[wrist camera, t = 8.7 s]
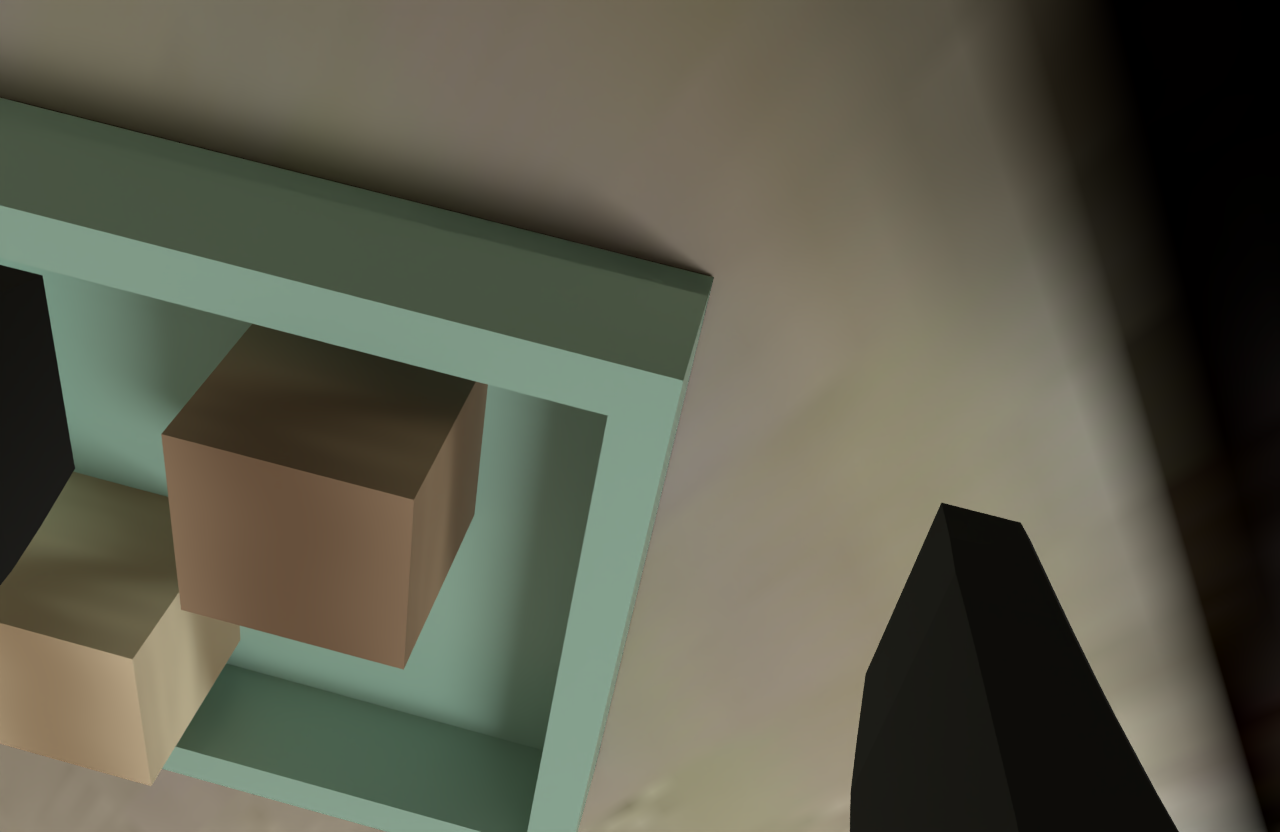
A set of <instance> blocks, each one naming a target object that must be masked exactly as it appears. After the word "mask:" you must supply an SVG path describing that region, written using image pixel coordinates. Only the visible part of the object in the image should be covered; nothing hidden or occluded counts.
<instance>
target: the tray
mask: <svg viewBox="0 0 1280 832" xmlns="http://www.w3.org/2000/svg"><path fill="white" fill-rule="evenodd" d="M0 265H3V266H7V267H11V268H15V269H19V270H23V271H27V272H31V273H35V274H39V275H43V281H44V287H45V293H46V299H47V304H48V310H49V316H50V322H51V328H52V334H53V340H54V346H55V352H56V358H57V364H58V370H59V376H60V382H61V388H62V394H63V400H64V405H65V411H66V417H67V423H68V429H69V435H70V441H71V447H72V453H73V459H74V465H75V470H74V471H73V472H77V473H80V474H84V475H88V476H92V477H95V478H99V479H103V480H107V481H110V482H114V483H118V484H122V485H125V486H129V487H133V488H136V489H140V490H144V491H148V492H151V493H155V494H159V495H163V496H166V497H168V490H167V481H166V472H165V463H164V454H163V445H162V437H161V434H162V432H163V431H164V430H165V429H166V428H167V426H168V425H169V424H170V423H171V422H172V420H173V419H174V418H175V417H176V416H177V414H178V413H179V412H180V411H181V409H182V408H183V407H184V406H185V405H186V403H187V402H188V401H189V400H190V399H191V397H192V396H193V395H194V394H195V392H196V391H197V390H198V389H199V388H200V386H201V385H202V384H203V383H204V382H205V380H206V379H207V378H208V377H209V375H210V374H211V373H212V372H213V371H214V369H215V368H216V367H217V366H218V365H219V363H220V362H221V361H222V360H223V359H224V357H225V356H226V355H227V354H228V352H229V351H230V350H231V349H232V348H233V346H234V345H235V344H236V343H237V342H238V340H239V339H240V338H241V337H242V335H243V334H244V333H245V332H246V331H247V329H248V328H249V327H250V326H251V325H252V324H256V325H260V326H264V327H268V328H271V329H275V330H279V331H283V332H287V333H291V334H295V335H298V336H302V337H306V338H310V339H314V340H318V341H322V342H326V343H329V344H333V345H337V346H341V347H345V348H349V349H353V350H356V351H360V352H364V353H368V354H372V355H376V356H380V357H383V358H387V359H391V360H395V361H399V362H403V363H407V364H410V365H414V366H418V367H422V368H426V369H430V370H434V371H437V372H441V373H445V374H449V375H453V376H457V377H461V378H464V379H468V380H472V381H476V382H480V383H484V384H488V389H487V399H486V409H485V418H484V428H483V437H482V447H481V457H480V466H479V476H478V485H477V495H476V505H475V514H474V517H473V519H472V521H471V524H470V526H469V528H468V530H467V532H466V534H465V537H464V539H463V541H462V543H461V545H460V548H459V550H458V552H457V554H456V556H455V559H454V561H453V563H452V565H451V567H450V569H449V572H448V574H447V576H446V578H445V580H444V583H443V585H442V587H441V589H440V591H439V594H438V596H437V598H436V600H435V602H434V604H433V607H432V609H431V611H430V613H429V615H428V618H427V620H426V622H425V624H424V626H423V628H422V631H421V633H420V635H419V637H418V639H417V642H416V644H415V646H414V648H413V650H412V653H411V655H410V657H409V659H408V661H407V663H406V666H405V668H404V670H403V669H399V668H396V667H392V666H388V665H384V664H381V663H377V662H373V661H370V660H366V659H362V658H358V657H355V656H351V655H347V654H344V653H340V652H336V651H332V650H329V649H325V648H321V647H318V646H314V645H310V644H306V643H303V642H299V641H295V640H291V639H288V638H284V637H280V636H277V635H273V634H269V633H265V632H262V631H258V630H254V629H251V628H247V627H243V626H240V642H239V643H238V645H237V646H236V648H235V650H234V651H233V653H232V655H231V656H230V658H229V660H228V661H227V663H226V664H225V666H224V668H223V669H222V671H221V673H220V674H219V676H218V678H217V679H216V681H215V683H214V684H213V686H212V687H211V689H210V691H209V692H208V694H207V696H206V697H205V699H204V701H203V702H202V704H201V705H200V707H199V709H198V710H197V712H196V714H195V715H194V717H193V719H192V720H191V722H190V723H189V725H188V727H187V728H186V730H185V732H184V733H183V735H182V737H181V738H180V740H179V742H178V743H177V745H176V746H175V748H174V750H173V751H172V753H171V755H170V756H169V758H168V760H167V761H166V763H165V764H164V766H163V768H162V769H165V770H169V771H172V772H176V773H179V774H183V775H187V776H190V777H194V778H197V779H201V780H204V781H208V782H212V783H215V784H219V785H222V786H226V787H229V788H233V789H237V790H240V791H244V792H247V793H251V794H254V795H258V796H262V797H265V798H269V799H272V800H276V801H279V802H283V803H287V804H290V805H294V806H297V807H301V808H304V809H308V810H312V811H315V812H319V813H322V814H326V815H329V816H333V817H337V818H340V819H344V820H347V821H351V822H354V823H358V824H362V825H365V826H369V827H372V828H376V829H379V830H383V831H387V832H578V828H579V825H580V821H581V817H582V814H583V810H584V806H585V803H586V799H587V795H588V792H589V788H590V785H591V781H592V777H593V774H594V770H595V766H596V762H597V758H598V754H599V749H600V745H601V741H602V737H603V733H604V729H605V725H606V720H607V716H608V712H609V708H610V704H611V700H612V696H613V692H614V687H615V683H616V679H617V675H618V671H619V667H620V663H621V658H622V654H623V650H624V646H625V642H626V638H627V634H628V630H629V625H630V621H631V617H632V613H633V609H634V605H635V601H636V596H637V592H638V588H639V584H640V580H641V576H642V572H643V568H644V563H645V559H646V555H647V551H648V547H649V543H650V539H651V534H652V530H653V526H654V522H655V518H656V514H657V510H658V506H659V501H660V497H661V493H662V489H663V485H664V481H665V477H666V472H667V468H668V464H669V460H670V456H671V452H672V448H673V444H674V439H675V435H676V431H677V427H678V423H679V419H680V415H681V410H682V406H683V402H684V398H685V394H686V390H687V386H688V382H689V377H690V373H691V369H692V365H693V361H694V357H695V353H696V348H697V344H698V340H699V336H700V332H701V328H702V324H703V320H704V315H705V311H706V307H707V303H708V299H709V295H710V291H711V286H712V282H713V278H714V277H710V276H706V275H702V274H698V273H694V272H690V271H686V270H682V269H678V268H674V267H670V266H666V265H662V264H658V263H654V262H651V261H647V260H643V259H639V258H635V257H631V256H627V255H623V254H619V253H615V252H611V251H607V250H603V249H599V248H595V247H591V246H587V245H583V244H579V243H575V242H571V241H567V240H563V239H559V238H555V237H551V236H547V235H543V234H539V233H535V232H531V231H527V230H523V229H520V228H516V227H512V226H508V225H504V224H500V223H496V222H492V221H488V220H484V219H480V218H476V217H472V216H468V215H464V214H460V213H456V212H452V211H448V210H444V209H440V208H436V207H432V206H428V205H424V204H420V203H416V202H412V201H408V200H404V199H400V198H396V197H392V196H389V195H385V194H381V193H377V192H373V191H369V190H365V189H361V188H357V187H353V186H349V185H345V184H341V183H337V182H333V181H329V180H325V179H321V178H317V177H313V176H309V175H305V174H301V173H297V172H293V171H289V170H285V169H281V168H277V167H273V166H269V165H265V164H261V163H258V162H254V161H250V160H246V159H242V158H238V157H234V156H230V155H226V154H222V153H218V152H214V151H210V150H206V149H202V148H198V147H194V146H190V145H186V144H182V143H178V142H174V141H170V140H166V139H162V138H158V137H154V136H150V135H146V134H142V133H138V132H134V131H130V130H127V129H123V128H119V127H115V126H111V125H107V124H103V123H99V122H95V121H91V120H87V119H83V118H79V117H75V116H71V115H67V114H63V113H59V112H55V111H51V110H47V109H43V108H39V107H35V106H31V105H27V104H23V103H19V102H15V101H11V100H7V99H3V98H0Z"/></svg>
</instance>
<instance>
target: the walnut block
mask: <svg viewBox="0 0 1280 832" xmlns="http://www.w3.org/2000/svg"><path fill="white" fill-rule="evenodd" d="M487 389H488V384H484V383H480V382H476V381H472V380H468V379H464V378H461V377H457V376H453V375H449V374H445V373H441V372H437V371H434V370H430V369H426V368H422V367H418V366H414V365H410V364H407V363H403V362H399V361H395V360H391V359H387V358H383V357H380V356H376V355H372V354H368V353H364V352H360V351H356V350H353V349H349V348H345V347H341V346H337V345H333V344H329V343H326V342H322V341H318V340H314V339H310V338H306V337H302V336H298V335H295V334H291V333H287V332H283V331H279V330H275V329H271V328H268V327H264V326H260V325H256V324H252V325H251V326H250V327H249V328H248V329H247V331H246V332H245V333H244V334H243V335H242V337H241V338H240V339H239V340H238V342H237V343H236V344H235V345H234V346H233V348H232V349H231V350H230V351H229V352H228V354H227V355H226V356H225V357H224V359H223V360H222V361H221V362H220V363H219V365H218V366H217V367H216V368H215V369H214V371H213V372H212V373H211V374H210V375H209V377H208V378H207V379H206V380H205V382H204V383H203V384H202V385H201V386H200V388H199V389H198V390H197V391H196V392H195V394H194V395H193V396H192V397H191V399H190V400H189V401H188V402H187V403H186V405H185V406H184V407H183V408H182V409H181V411H180V412H179V413H178V414H177V416H176V417H175V418H174V419H173V420H172V422H171V423H170V424H169V425H168V426H167V428H166V429H165V430H164V431H163V432H162V434H161V437H162V445H163V454H164V463H165V472H166V481H167V490H168V499H169V507H170V516H171V525H172V534H173V543H174V552H175V561H176V569H177V578H178V587H179V596H180V605H181V610H184V611H187V612H191V613H195V614H199V615H202V616H206V617H210V618H213V619H217V620H221V621H225V622H228V623H232V624H236V625H239V626H243V627H247V628H251V629H254V630H258V631H262V632H265V633H269V634H273V635H277V636H280V637H284V638H288V639H291V640H295V641H299V642H303V643H306V644H310V645H314V646H318V647H321V648H325V649H329V650H332V651H336V652H340V653H344V654H347V655H351V656H355V657H358V658H362V659H366V660H370V661H373V662H377V663H381V664H384V665H388V666H392V667H396V668H399V669H403V670H404V668H405V666H406V663H407V661H408V659H409V657H410V655H411V653H412V650H413V648H414V646H415V644H416V642H417V639H418V637H419V635H420V633H421V631H422V628H423V626H424V624H425V622H426V620H427V618H428V615H429V613H430V611H431V609H432V607H433V604H434V602H435V600H436V598H437V596H438V594H439V591H440V589H441V587H442V585H443V583H444V580H445V578H446V576H447V574H448V572H449V569H450V567H451V565H452V563H453V561H454V559H455V556H456V554H457V552H458V550H459V548H460V545H461V543H462V541H463V539H464V537H465V534H466V532H467V530H468V528H469V526H470V524H471V521H472V519H473V517H474V514H475V505H476V495H477V485H478V476H479V466H480V457H481V447H482V437H483V428H484V418H485V409H486V399H487Z"/></svg>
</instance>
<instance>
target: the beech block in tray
mask: <svg viewBox="0 0 1280 832" xmlns="http://www.w3.org/2000/svg"><path fill="white" fill-rule="evenodd" d="M239 642H240V626H239V625H236V624H232V623H228V622H225V621H221V620H217V619H213V618H210V617H206V616H202V615H199V614H195V613H191V612H187V611H184V610H181V605H180V596H179V587H178V578H177V569H176V561H175V552H174V543H173V534H172V525H171V516H170V507H169V499H168V497H166V496H163V495H159V494H155V493H151V492H148V491H144V490H140V489H136V488H133V487H129V486H125V485H122V484H118V483H114V482H110V481H107V480H103V479H99V478H95V477H92V476H88V475H84V474H80V473H77V472H73V473H72V475H71V476H70V478H69V480H68V481H67V483H66V485H65V486H64V488H63V490H62V492H61V493H60V495H59V497H58V498H57V500H56V502H55V503H54V505H53V507H52V508H51V510H50V512H49V513H48V515H47V517H46V518H45V520H44V522H43V524H42V525H41V527H40V528H39V530H38V531H37V533H36V534H35V536H34V538H33V539H32V541H31V542H30V544H29V545H28V547H27V548H26V550H25V551H24V553H23V555H22V556H21V558H20V559H19V561H18V562H17V564H16V565H15V567H14V568H13V570H12V571H11V573H10V574H9V575H8V576H7V578H6V579H5V580H4V581H3V583H2V584H1V585H0V744H3V745H7V746H10V747H14V748H18V749H21V750H25V751H28V752H32V753H35V754H39V755H42V756H46V757H50V758H53V759H57V760H60V761H64V762H67V763H71V764H75V765H78V766H82V767H85V768H89V769H92V770H96V771H99V772H103V773H107V774H110V775H114V776H117V777H121V778H124V779H128V780H131V781H135V782H139V783H142V784H146V785H149V786H152V784H153V783H154V781H155V779H156V778H157V776H158V774H159V773H160V771H161V769H162V768H163V766H164V764H165V763H166V761H167V760H168V758H169V756H170V755H171V753H172V751H173V750H174V748H175V746H176V745H177V743H178V742H179V740H180V738H181V737H182V735H183V733H184V732H185V730H186V728H187V727H188V725H189V723H190V722H191V720H192V719H193V717H194V715H195V714H196V712H197V710H198V709H199V707H200V705H201V704H202V702H203V701H204V699H205V697H206V696H207V694H208V692H209V691H210V689H211V687H212V686H213V684H214V683H215V681H216V679H217V678H218V676H219V674H220V673H221V671H222V669H223V668H224V666H225V664H226V663H227V661H228V660H229V658H230V656H231V655H232V653H233V651H234V650H235V648H236V646H237V645H238V643H239Z"/></svg>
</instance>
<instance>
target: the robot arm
mask: <svg viewBox="0 0 1280 832" xmlns="http://www.w3.org/2000/svg"><path fill="white" fill-rule="evenodd" d="M74 470H75V465H74V459H73V453H72V447H71V441H70V435H69V429H68V423H67V417H66V411H65V405H64V400H63V394H62V388H61V382H60V376H59V370H58V364H57V358H56V352H55V346H54V340H53V334H52V328H51V322H50V316H49V310H48V304H47V299H46V293H45V287H44V281H43V275H39V274H35V273H31V272H27V271H23V270H19V269H15V268H11V267H7V266H3V265H0V585H1V584H2V583H3V581H4V580H5V579H6V578H7V576H8V575H9V574H10V573H11V571H12V570H13V568H14V567H15V565H16V564H17V562H18V561H19V559H20V558H21V556H22V555H23V553H24V551H25V550H26V548H27V547H28V545H29V544H30V542H31V541H32V539H33V538H34V536H35V534H36V533H37V531H38V530H39V528H40V527H41V525H42V524H43V522H44V520H45V518H46V517H47V515H48V513H49V512H50V510H51V508H52V507H53V505H54V503H55V502H56V500H57V498H58V497H59V495H60V493H61V492H62V490H63V488H64V486H65V485H66V483H67V481H68V480H69V478H70V476H71V475H72V473H73V471H74ZM850 832H1179V831H1178V830H1177V828H1176V826H1175V824H1174V823H1173V821H1172V819H1171V817H1170V816H1169V814H1168V812H1167V810H1166V809H1165V807H1164V805H1163V803H1162V801H1161V800H1160V798H1159V796H1158V794H1157V793H1156V791H1155V789H1154V787H1153V785H1152V783H1151V781H1150V780H1149V778H1148V776H1147V774H1146V772H1145V770H1144V768H1143V767H1142V765H1141V763H1140V761H1139V759H1138V757H1137V755H1136V753H1135V752H1134V750H1133V748H1132V746H1131V744H1130V742H1129V740H1128V739H1127V737H1126V735H1125V733H1124V731H1123V729H1122V727H1121V725H1120V724H1119V722H1118V720H1117V718H1116V716H1115V714H1114V712H1113V710H1112V708H1111V706H1110V705H1109V703H1108V701H1107V699H1106V697H1105V695H1104V693H1103V691H1102V689H1101V687H1100V685H1099V683H1098V681H1097V679H1096V677H1095V675H1094V673H1093V671H1092V669H1091V667H1090V665H1089V663H1088V661H1087V659H1086V657H1085V654H1084V652H1083V650H1082V648H1081V646H1080V644H1079V642H1078V640H1077V638H1076V636H1075V634H1074V632H1073V630H1072V628H1071V626H1070V624H1069V622H1068V619H1067V617H1066V615H1065V613H1064V611H1063V609H1062V607H1061V605H1060V603H1059V600H1058V598H1057V596H1056V594H1055V592H1054V590H1053V588H1052V586H1051V583H1050V581H1049V579H1048V577H1047V575H1046V573H1045V571H1044V568H1043V566H1042V564H1041V562H1040V560H1039V558H1038V556H1037V554H1036V551H1035V549H1034V547H1033V545H1032V543H1031V541H1030V539H1029V537H1028V535H1027V533H1026V531H1025V530H1024V528H1023V526H1022V524H1021V523H1019V522H1016V521H1012V520H1008V519H1004V518H1000V517H996V516H992V515H988V514H984V513H980V512H976V511H972V510H968V509H964V508H960V507H956V506H952V505H948V504H944V503H941V505H940V507H939V510H938V512H937V514H936V516H935V519H934V521H933V523H932V525H931V528H930V530H929V532H928V535H927V537H926V539H925V541H924V544H923V546H922V548H921V550H920V553H919V555H918V557H917V559H916V562H915V564H914V566H913V568H912V571H911V573H910V575H909V577H908V580H907V582H906V584H905V587H904V589H903V591H902V593H901V596H900V598H899V600H898V602H897V605H896V607H895V609H894V611H893V614H892V616H891V618H890V620H889V623H888V625H887V627H886V629H885V632H884V634H883V636H882V639H881V641H880V643H879V645H878V648H877V650H876V652H875V654H874V657H873V659H872V661H871V663H870V666H869V668H868V670H867V672H866V676H865V683H864V691H863V698H862V706H861V713H860V721H859V728H858V735H857V743H856V752H855V760H854V769H853V777H852V786H851V804H850Z"/></svg>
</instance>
